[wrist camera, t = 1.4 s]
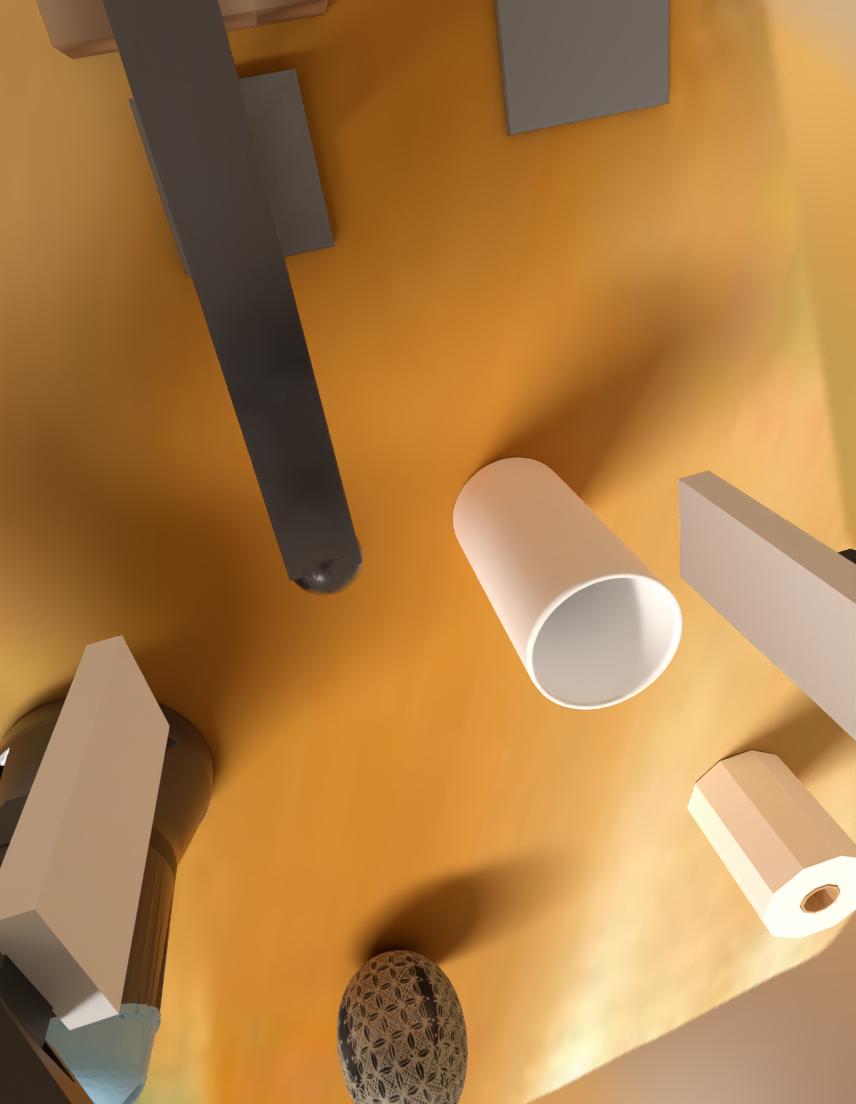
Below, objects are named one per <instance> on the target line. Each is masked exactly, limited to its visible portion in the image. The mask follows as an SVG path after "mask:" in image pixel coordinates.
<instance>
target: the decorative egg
mask: <svg viewBox="0 0 856 1104" xmlns="http://www.w3.org/2000/svg"><path fill="white" fill-rule="evenodd" d="M337 1048H338V1055H339V1061H340V1066H341V1070H342V1073H343V1077H344V1080H345V1083H346V1086H347V1088H348V1091H349V1093H350V1096H351V1098H352V1100H353V1102H354V1103H355V1104H458V1101H459V1099H460V1096H461V1093H462V1090H463V1086H464V1082H465V1076H466V1069H467V1055H468V1052H467V1035H466V1026H465V1021H464V1016H463V1012H462V1008H461V1005H460V1002H459V999H458V997H457V994H456V992H455V990H454V987H453V986H452V984H451V982H450V980H449V979H448V977H447V976H446V975H445V974H444V972H443V971H442V970H441V969H440V968H439V967H438V966H437V965H436V964H435V963H434V962H432V961H431V960H430V959H428V958H427V957H425V956H423V955H421V954H418V953H415V952H412V951H407V950H392V951H388V952H384V953H381V954H379V955H377V956H375V957H373V958H372V959H370V960H369V961H367V962H366V963H365V964H364V965H363V966H362V967H361V968H360V969H359V970H358V971H357V972H356V973H355V975H354V976H353V978H352V979H351V980H350V982H349V984H348V986H347V988H346V990H345V992H344V995H343V997H342V1000H341V1003H340V1007H339V1012H338V1019H337Z"/></svg>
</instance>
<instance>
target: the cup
mask: <svg viewBox="0 0 856 1104" xmlns="http://www.w3.org/2000/svg"><path fill="white" fill-rule="evenodd" d="M453 526H454V531H455V534H456V537H457V539H458V541H459V543H460V545H461V547H462V549H463V551H464V553H465V555H466V556H467V558H468V560H469V562H470V564H471V566H472V568H473V570H474V572H475V573H476V575H477V577H478V579H479V581H480V583H481V585H482V587H483V589H484V590H485V592H486V594H487V596H488V598H489V600H490V602H491V604H492V606H493V608H494V609H495V611H496V613H497V615H498V617H499V619H500V621H501V623H502V625H503V626H504V628H505V630H506V632H507V634H508V636H509V638H510V640H511V642H512V643H513V645H514V647H515V649H516V651H517V653H518V655H519V657H520V659H521V660H522V662H523V664H524V666H525V668H526V670H527V672H528V674H529V675H530V677H531V679H532V681H533V682H534V684H535V685H536V687H537V688H538V689H539V690H540V691H541V693H542V694H544V695H545V696H546V697H547V698H548V699H550V700H551V701H553V702H555V703H557V704H560V705H562V706H565V707H569V708H575V709H596V708H602V707H606V706H610V705H613V704H617V703H619V702H622V701H624V700H626V699H628V698H630V697H632V696H634V695H636V694H637V693H639V692H640V691H642V690H643V689H645V688H646V687H647V686H649V685H650V684H651V683H652V682H653V681H654V680H655V679H656V678H657V677H658V676H659V675H660V674H661V673H662V672H663V671H664V670H665V668H666V667H667V666H668V664H669V663H670V661H671V660H672V658H673V656H674V654H675V652H676V650H677V648H678V645H679V642H680V639H681V634H682V625H683V623H682V614H681V609H680V606H679V604H678V602H677V600H676V598H675V597H674V595H673V594H672V592H671V591H670V590H669V588H668V587H667V586H666V585H665V584H664V583H663V582H662V581H661V580H660V579H659V578H658V577H657V576H656V575H655V574H654V573H653V572H652V571H651V570H650V569H649V568H648V567H647V566H646V565H645V564H644V563H643V562H642V561H641V559H640V558H639V557H638V556H637V555H636V554H635V553H634V552H633V551H632V550H631V549H630V548H629V547H628V546H627V545H626V544H625V543H624V542H623V541H622V540H621V539H620V538H619V537H618V536H617V535H616V534H615V533H614V532H613V531H612V530H611V529H610V528H609V527H608V526H607V525H606V524H605V523H604V522H603V521H602V520H601V519H600V518H599V517H598V516H597V515H596V514H595V513H594V512H593V511H592V510H591V509H590V508H589V507H588V506H587V505H586V504H585V503H584V502H583V501H582V500H581V499H580V498H579V497H578V496H577V495H576V494H575V493H574V492H573V491H572V490H571V489H570V487H569V486H568V485H567V484H566V483H565V482H564V481H563V480H562V479H561V478H560V477H559V476H558V475H557V474H556V473H555V472H554V471H553V470H552V469H550V468H549V467H548V466H546V465H545V464H543V463H541V462H539V461H536V460H533V459H529V458H522V457H514V458H506V459H502V460H499V461H496V462H493V463H491V464H489V465H487V466H485V467H484V468H482V469H481V470H479V471H478V472H477V473H475V474H474V475H473V476H472V477H471V478H470V479H469V480H468V481H467V483H466V484H465V485H464V487H463V488H462V490H461V492H460V493H459V495H458V498H457V500H456V503H455V507H454V512H453Z"/></svg>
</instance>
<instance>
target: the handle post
mask: <svg viewBox="0 0 856 1104" xmlns="http://www.w3.org/2000/svg"><path fill="white" fill-rule="evenodd" d="M239 83H240V87H241V91H242V95H243V99H244V103H245V106H246V110H247V114H248V118H249V122H250V126H251V130H252V134H253V138H254V142H255V145H256V149H257V153H258V157H259V161H260V165H261V169H262V173H263V177H264V180H265V184H266V188H267V192H268V196H269V200H270V204H271V208H272V212H273V215H274V219H275V223H276V227H277V231H278V235H279V239H280V243H281V247H282V250H283V254H284V257H285V256H290V255H295V254H300V253H304V252H309V251H314V250H319V249H324V248H328V247H333V246H335V245H334V240H333V236H332V231H331V227H330V222H329V218H328V213H327V209H326V204H325V200H324V195H323V191H322V186H321V181H320V177H319V172H318V168H317V163H316V159H315V154H314V150H313V145H312V141H311V136H310V132H309V127H308V123H307V118H306V114H305V109H304V105H303V100H302V96H301V91H300V87H299V82H298V78H297V73H296V68H295V69H289V70H284V71H279V72H273V73H268V74H262V75H257V76H252V77H246V78H241V79H239ZM129 102H130V105H131V108H132V111H133V114H134V117H135V120H136V123H137V126H138V129H139V132H140V135H141V138H142V141H143V144H144V147H145V151H146V154H147V157H148V160H149V163H150V166H151V169H152V172H153V175H154V178H155V181H156V184H157V187H158V190H159V193H160V196H161V199H162V203H163V206H164V209H165V212H166V215H167V218H168V221H169V224H170V227H171V230H172V233H173V236H174V239H175V242H176V245H177V248H178V252H179V255H180V258H181V261H182V264H183V267H184V270H185V273H186V276H187V277H190V276H191V273H190V270H189V266H188V263H187V260H186V257H185V254H184V251H183V248H182V245H181V242H180V239H179V235H178V232H177V229H176V226H175V223H174V220H173V217H172V214H171V211H170V208H169V205H168V201H167V198H166V195H165V192H164V189H163V186H162V183H161V180H160V177H159V174H158V171H157V167H156V164H155V161H154V158H153V155H152V152H151V149H150V146H149V143H148V140H147V136H146V133H145V130H144V127H143V124H142V121H141V118H140V115H139V112H138V109H137V106H136V102H135V99H134V98H133V99H129Z"/></svg>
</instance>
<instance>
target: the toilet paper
mask: <svg viewBox="0 0 856 1104" xmlns="http://www.w3.org/2000/svg"><path fill="white" fill-rule="evenodd" d="M687 808H688V810H689V811H690V813H691V814H692V816H693V817H694V819H695V820H696V822H697V823H698V825H699V826H700V828H701V829H702V831H703V832H704V834H705V835H706V837H707V838H708V840H709V841H710V843H711V844H712V846H713V847H714V849H715V850H716V852H717V853H718V855H719V856H720V858H721V859H722V861H723V862H724V864H725V865H726V867H727V868H728V870H729V871H730V873H731V874H732V876H733V877H734V879H735V880H736V882H737V883H738V885H739V886H740V888H741V889H742V891H743V892H744V894H745V895H746V897H747V898H748V900H749V901H750V903H751V904H752V906H753V907H754V909H755V910H756V912H757V913H758V915H759V916H760V918H761V919H762V921H763V922H764V924H765V925H766V927H767V928H768V930H769V931H770V933H771V934H772V936H777V937H791V938H802V937H805V936H808V935H810V934H813V933H816V932H819V931H821V930H824V929H827V928H830V927H832V926H835V925H836V924H837V923H839V922H840V921H841V920H842V919H844V918H845V917H846V916H848V915H849V914H850V913H852V912H853V911H854V910H855V909H856V844H855V843H854V842H853V841H852V840H851V838H850V837H849V836H848V835H847V834H846V833H845V832H844V830H843V829H842V828H841V827H840V826H839V825H838V824H837V823H836V821H835V820H834V819H833V818H832V817H831V816H830V815H829V814H828V812H827V811H826V810H825V809H824V808H823V807H822V806H821V804H820V803H819V802H818V801H817V800H816V799H815V798H814V797H813V795H812V794H811V793H810V792H809V791H808V790H807V789H806V788H805V786H804V785H803V784H802V783H801V782H800V781H799V780H798V779H797V777H796V776H795V775H794V774H793V773H792V772H791V771H790V769H789V768H788V767H787V766H786V765H785V764H784V763H783V762H782V760H781V759H780V758H779V757H778V756H777V755H774V754H769V753H764V752H758V751H753V750H751V751H748V752H745V753H742V754H739V755H736V756H733V757H730V758H728V759H725V760H722V761H720V762H718V763H717V764H716V765H715V766H714V767H713V768H712V769H711V770H710V771H708V772H707V773H706V774H705V775H704V776H703V777H702V778H701V779H700V780H698V781H697V782H696V783H695V785H694V788H693V791H692V794H691V797H690V801H689V804H688V807H687Z"/></svg>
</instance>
